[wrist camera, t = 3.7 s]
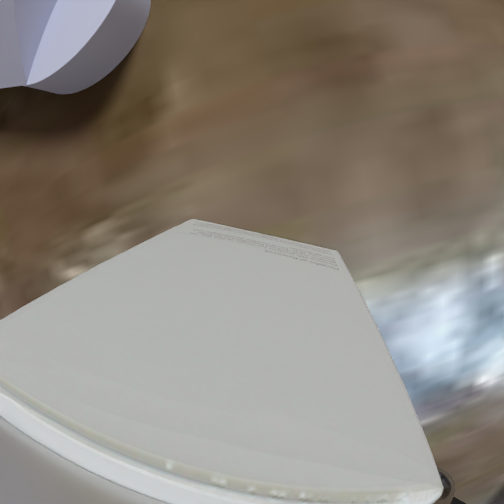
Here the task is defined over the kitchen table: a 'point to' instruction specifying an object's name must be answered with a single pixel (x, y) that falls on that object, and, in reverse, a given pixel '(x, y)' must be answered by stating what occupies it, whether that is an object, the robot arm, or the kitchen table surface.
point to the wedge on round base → (66, 41)
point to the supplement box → (218, 376)
